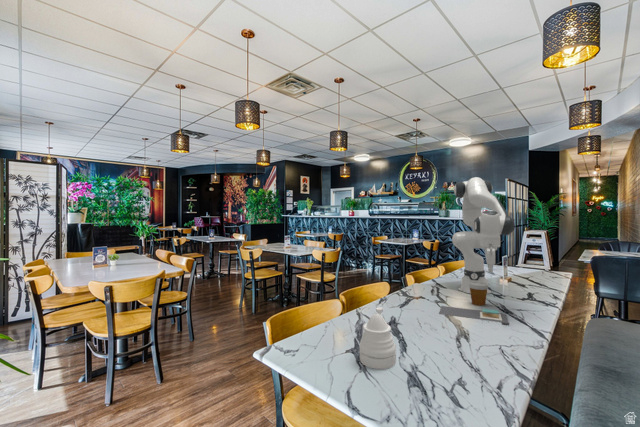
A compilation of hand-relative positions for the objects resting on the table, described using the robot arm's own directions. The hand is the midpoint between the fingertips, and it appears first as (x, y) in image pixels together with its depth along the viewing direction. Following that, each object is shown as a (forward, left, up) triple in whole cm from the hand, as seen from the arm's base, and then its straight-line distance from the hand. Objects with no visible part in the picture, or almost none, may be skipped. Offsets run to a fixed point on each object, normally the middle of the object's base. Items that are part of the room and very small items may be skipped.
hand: (490, 269), depth 152 cm
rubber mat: (+7, -8, -22) cm, 25 cm away
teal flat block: (+7, 0, -21) cm, 22 cm away
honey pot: (+70, -38, -23) cm, 83 cm away
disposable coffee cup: (-12, -5, -23) cm, 26 cm away
